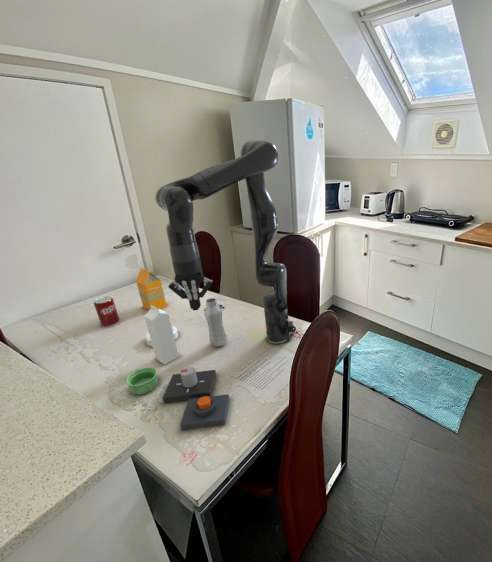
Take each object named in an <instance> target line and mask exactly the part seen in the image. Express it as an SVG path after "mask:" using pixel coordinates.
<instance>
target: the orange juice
mask: <svg viewBox="0 0 492 562" xmlns="http://www.w3.org/2000/svg"><path fill="white" fill-rule="evenodd" d="M135 282H136V286H137V289H138V294H139V297H140V300H141V305H142V307H143V308H144V309H145V310H147V311H149V310H150V309H151V306H150V305H152V306H154V307H155V308H157V309H160V310H163V309H164V308H166V307H168V304H167V301H166V297H165V296H166V295H165V292H164V289H163V285H162V280H161V279H159V278H158V277H157V276H156V275H154V274H153V273H151V271H149V270H147V269H144V268H140V270H139V272H138V275H137V277H136V280H135Z"/></svg>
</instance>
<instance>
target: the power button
mask: <svg viewBox="0 0 492 562" xmlns="http://www.w3.org/2000/svg"><path fill="white" fill-rule="evenodd" d="M197 403H198V408H199V409H201V410H205V409H207V408H209V407H210V406H211V400H210V397H208V396H204V397H201V398H200V399H199V400H198V402H197Z"/></svg>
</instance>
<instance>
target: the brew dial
mask: <svg viewBox="0 0 492 562" xmlns="http://www.w3.org/2000/svg"><path fill="white" fill-rule="evenodd" d="M196 372H197V371H196V368H195V367H194V366H192V365H191V366H186V367H184V368H182V369H180V371H179V374H181V378H182V382H183V386H184V387H186V388H189V387H193V386H194V385H196V384H197V376H196Z"/></svg>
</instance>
